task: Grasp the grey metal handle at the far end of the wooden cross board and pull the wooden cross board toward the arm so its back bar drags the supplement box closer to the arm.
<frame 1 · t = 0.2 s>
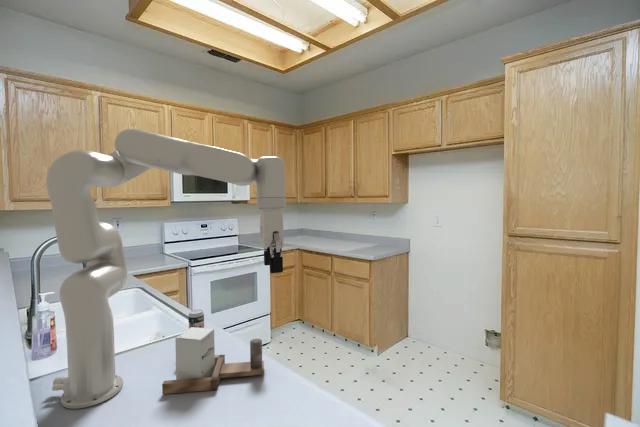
hand: (273, 268, 85), 30 cm above the counter, tool pointing down, fingers open, 9 cm apart
supplement box: (196, 379, 86), resting in wooden cross board
beer can: (196, 348, 103), on the counter
wooden cross board: (217, 359, 86), point 5 cm above the counter, slide at 0.0 cm
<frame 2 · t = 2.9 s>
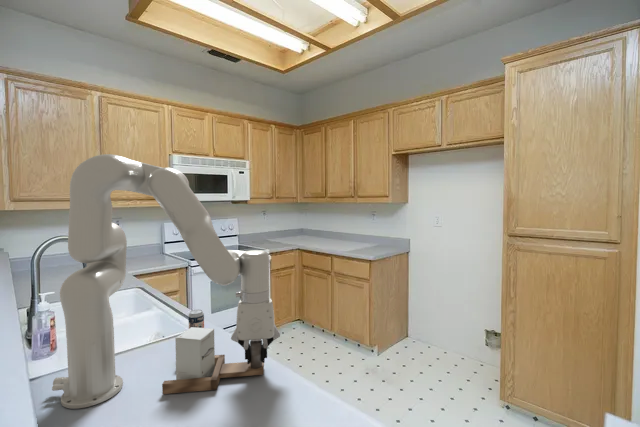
hand: (256, 360, 88), 4 cm above the counter, tool pointing down, fingers closed on wooden cross board, 3 cm apart
wooden cross board: (217, 359, 86), point 5 cm above the counter, slide at 0.0 cm, touching gripper
everything else where it was.
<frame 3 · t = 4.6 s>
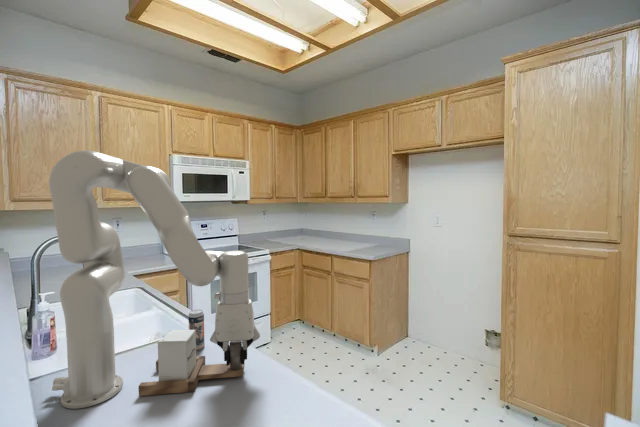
hand: (235, 361, 87), 4 cm above the counter, tool pointing down, fingers closed on wooden cross board, 3 cm apart
supplement box: (178, 382, 84), resting in wooden cross board
wooden cross board: (196, 361, 86), point 5 cm above the counter, slide at 5.5 cm, touching gripper, supplement box
everything else where it was.
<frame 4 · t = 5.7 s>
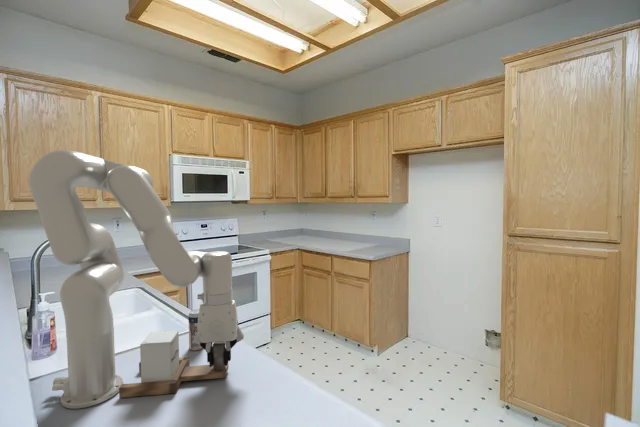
hand: (219, 363, 87), 4 cm above the counter, tool pointing down, fingers closed on wooden cross board, 3 cm apart
supplement box: (161, 384, 84), resting in wooden cross board
wooden cross board: (179, 362, 85), point 5 cm above the counter, slide at 9.9 cm, touching gripper, supplement box
everything else where it was.
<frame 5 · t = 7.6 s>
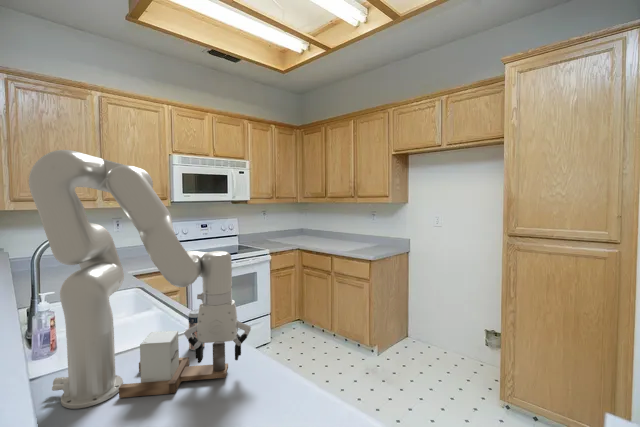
hand: (218, 359, 87), 5 cm above the counter, tool pointing down, fingers open, 9 cm apart
supplement box: (161, 384, 84), resting in wooden cross board
wooden cross board: (179, 362, 85), point 5 cm above the counter, slide at 10.0 cm
everything else where it was.
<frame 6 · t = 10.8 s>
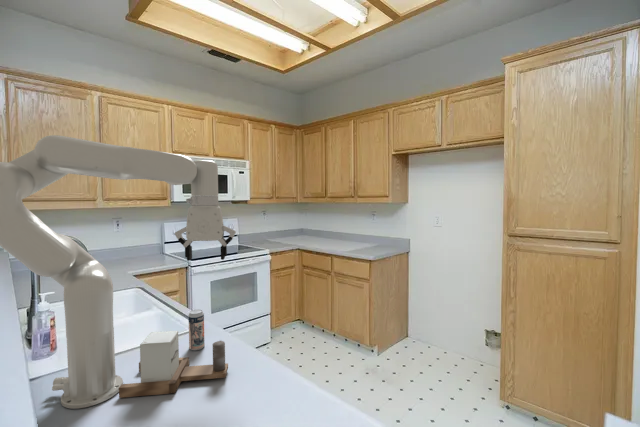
hand: (206, 259, 95), 30 cm above the counter, tool pointing down, fingers open, 9 cm apart
nothing on the counter moved.
at the end: wooden cross board slide at 10.0 cm; supplement box inside the target area (1.2 cm from its centre), resting in wooden cross board; supplement box tilted 0° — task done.
